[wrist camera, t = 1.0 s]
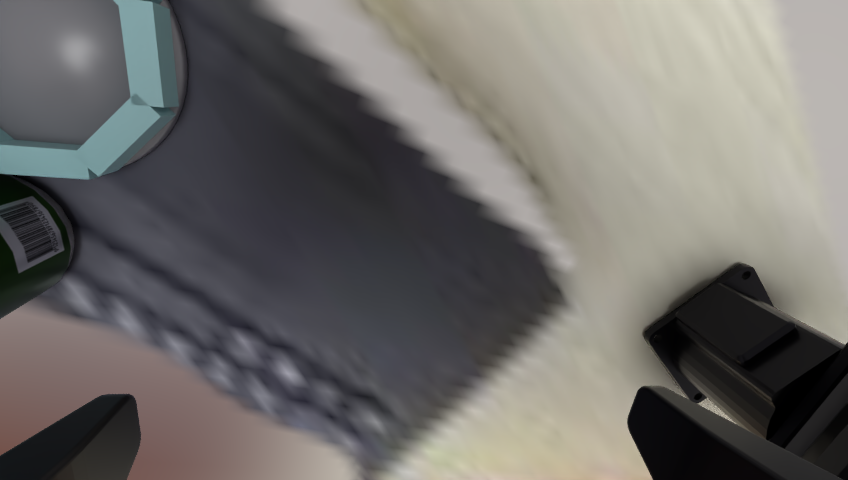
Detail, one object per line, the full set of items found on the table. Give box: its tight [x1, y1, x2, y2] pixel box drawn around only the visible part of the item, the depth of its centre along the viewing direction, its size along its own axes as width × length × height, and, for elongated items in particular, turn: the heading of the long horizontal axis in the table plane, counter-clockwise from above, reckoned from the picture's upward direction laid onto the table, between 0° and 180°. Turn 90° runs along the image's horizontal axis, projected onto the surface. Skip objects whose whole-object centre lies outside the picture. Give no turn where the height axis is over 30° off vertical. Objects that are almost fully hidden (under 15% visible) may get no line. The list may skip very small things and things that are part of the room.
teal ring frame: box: [0, 0, 188, 180], centre depth 14 cm, size 9×10×2 cm
